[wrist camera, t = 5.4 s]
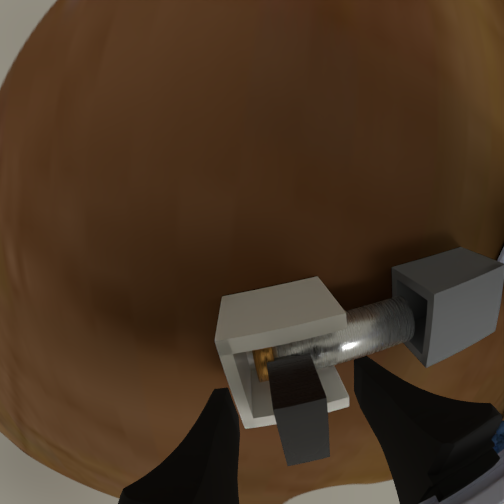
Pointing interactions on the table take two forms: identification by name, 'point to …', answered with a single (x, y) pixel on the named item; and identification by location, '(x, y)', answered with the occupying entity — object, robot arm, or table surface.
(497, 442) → the grapes
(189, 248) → the table surface
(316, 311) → the ceramic socket
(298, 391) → the silver cylinder with handle
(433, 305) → the charcoal sleeve
